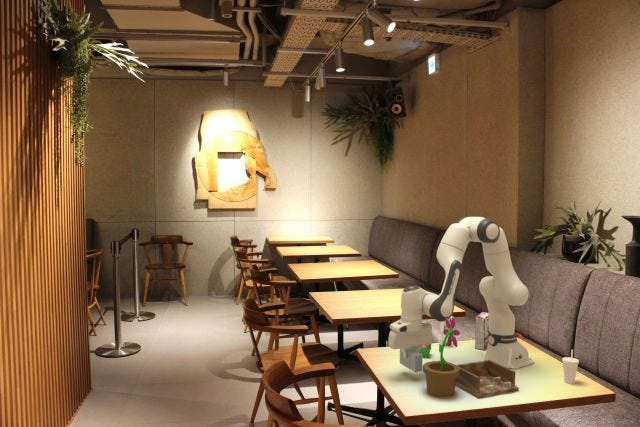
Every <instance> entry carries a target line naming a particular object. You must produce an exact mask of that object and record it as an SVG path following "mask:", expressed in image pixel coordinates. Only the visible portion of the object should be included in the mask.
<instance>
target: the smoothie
mask: <svg viewBox="0 0 640 427" xmlns="http://www.w3.org/2000/svg"><path fill="white" fill-rule="evenodd" d="M570 351H571V353H570V354H571V355H570V356H567V357H566V356H565V357H562V359H561V360H562V361H561V362H562V366H563V377H564V378H563V379H564V383H565V384H569V385H574V384H575V382H576V377H577V372H578V371H577V370H578V367H579V366H578V365H579V363H580V361H579V359H577V358H574V357H573V356H574V349H571V350H570Z"/></svg>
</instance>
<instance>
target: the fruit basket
mask: <svg viewBox="0 0 640 427" xmlns="http://www.w3.org/2000/svg"><path fill="white" fill-rule="evenodd" d="M432 344H433V343H432ZM432 344H429V345H422V346H421V349H420V351H419V353H421V354H422V358H425V359H427V358H429V356H430V353H431V350H432V346H433V345H432ZM409 348H411V349H413V350H416V346H415V347H409Z"/></svg>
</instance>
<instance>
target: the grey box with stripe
mask: <svg viewBox="0 0 640 427" xmlns="http://www.w3.org/2000/svg"><path fill="white" fill-rule="evenodd" d="M405 351H406V353H408V358H404V357H403V352H402V350H401V349H399V364H400V365H402V366H404V367H405V368H407V369H409V370H410V371H412V372H414V373H418V372H423V357H422V354H421V353H419V352H417V351H415V350H413V349H411V348H409V347H408V348H406V350H405Z"/></svg>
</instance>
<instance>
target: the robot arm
mask: <svg viewBox="0 0 640 427" xmlns="http://www.w3.org/2000/svg"><path fill="white" fill-rule="evenodd" d="M507 239H508V238H507V237H506V233H505V231H504V230H503V228H501V227H500V225H499V224H498V222H497V221H495V220H494V219H492V218H488V217H487V218H486V217H484V216H469V215H468V216H467V215H466V216H462V217H461V218H458V219H457V221H456V222H455V223H451V225H449V227H448V228H447V229H446V231H445V233H444V234H443V237H442V239H441V240H440V243H439V245H438V248H437V250H436V256H435V257H436V259H437V262H438V264H439V265H440V266H441V267H442V268H443V270H444V273H445V277H444V282H443V284H442V288H441V292H440V293H439V294H437V293H434V292H431V291H428V290H425V289H423V288H421V286H419V285H408V286H406V287H404V288H403V289H402V292H401V300H400V309H401V314H400V319H398V320H396V321H394V322H392V323H391V324H390V325H389V328H390V331H389V334H388V347H389V349H392V350H400V349H401V350H402V352H403V357H404V358H408V353H406V351H405V350H406V348H408V347H415V346H416V350H415V351H417V352H419V351H420V349H421V346H422V345H429V344H433V342H434V337H433V336H434V335H433V325H432V323H430V322H429V321H428V322H423V315H426V316H427V317H431V318H432V319H433V320H436V321H437V322H439V323H440V322H443V321H445V319H446V318H447V319H449V318H450V317H451V316H453V313H454V310H455V301H456V296H457V292H458V289H459V286H460V282H461V278H462V274H463V258H464V256H465V253H466V250H467V248H468V244H469V243H470V242H473V243H477V242H478V243H481V245H482V251H483V252H482V253H483V258H484V262H485V263H484V264H485V267H486V270H487V271H488V272H489V273H490V274H491V275H492V276H491V275H489V276H485V277H483V278H481V280H480V282H479V285H478V286H479V287H478V289H479V290H478V291H479V293H480V294H481V295H482V297H483V299H484V300H485V303H486V307H487V310H488V313H489V331H488V346H487V348H486V354H485V356H484V359H483V361H486V360H491V361H493V362H495V363H497V364H500V365H502V366H504V367H506V368H508V369H511V370H512V369H513V370H517V369H519V368H523V367H526V366H530V365H533V364H535V361H534V360H533V358H530V357H529V351H528V349H527V347H525V346H524V345H523V344H522V343H520V342H519V341H518V339H519V340H520V339H522V337H523V335H522V333H519V332H518V333H516V332H515V330H516V329H515V326H516V325H515V324H516V318H515V315H514V313H513V312H512V310H511V309H510V306H515V307H517V306H519V307H520V306H524V305H525V304H526V302H527V301H528V299H529V295H530V294H529V289H528V287H527V286H526V285H525V283H523V282H522V281H521V279H520V278H519V276H518V275H517V272H516V270H515V268H514V266H513V263H512V259H511V254H510V253H511V252H510V250H509V244H508V243H509V242H508V240H507Z"/></svg>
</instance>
